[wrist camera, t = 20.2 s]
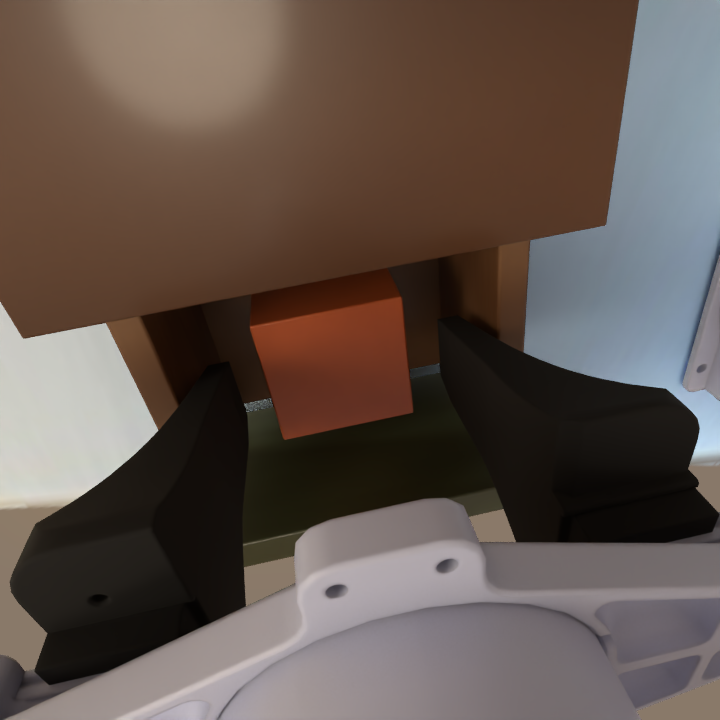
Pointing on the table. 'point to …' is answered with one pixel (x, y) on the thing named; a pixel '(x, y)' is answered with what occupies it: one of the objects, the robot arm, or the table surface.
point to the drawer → (353, 443)
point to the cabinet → (289, 142)
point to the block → (333, 352)
